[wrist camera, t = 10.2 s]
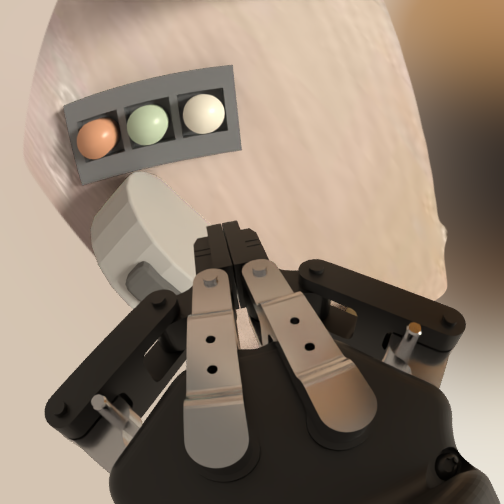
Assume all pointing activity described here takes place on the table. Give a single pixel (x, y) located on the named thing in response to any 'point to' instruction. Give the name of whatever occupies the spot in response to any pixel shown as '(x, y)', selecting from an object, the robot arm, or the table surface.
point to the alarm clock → (146, 238)
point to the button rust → (98, 137)
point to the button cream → (203, 113)
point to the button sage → (148, 124)
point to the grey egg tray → (177, 134)
